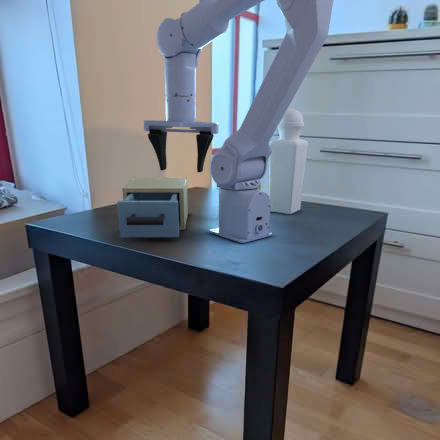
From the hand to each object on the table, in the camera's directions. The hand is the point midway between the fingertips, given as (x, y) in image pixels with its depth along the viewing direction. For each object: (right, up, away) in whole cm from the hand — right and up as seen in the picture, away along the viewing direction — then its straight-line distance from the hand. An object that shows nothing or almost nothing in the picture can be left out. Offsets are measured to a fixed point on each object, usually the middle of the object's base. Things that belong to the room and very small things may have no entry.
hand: (181, 170), depth 84 cm
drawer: (-5, -13, -6) cm, 16 cm away
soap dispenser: (+23, -6, +14) cm, 27 cm away
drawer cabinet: (-5, -10, +4) cm, 12 cm away
